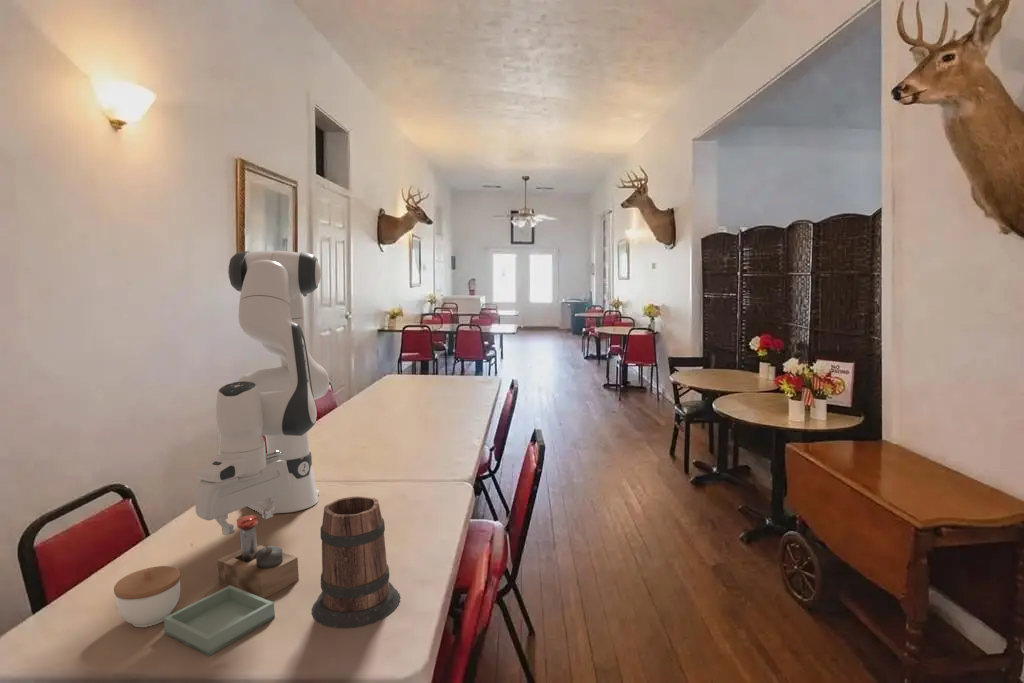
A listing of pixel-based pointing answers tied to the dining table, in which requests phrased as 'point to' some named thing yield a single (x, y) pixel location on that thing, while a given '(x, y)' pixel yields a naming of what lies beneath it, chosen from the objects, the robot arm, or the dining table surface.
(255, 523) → the lock pin
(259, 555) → the block
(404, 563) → the dining table surface
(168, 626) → the tray
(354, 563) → the tankard
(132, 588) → the lidded jar
